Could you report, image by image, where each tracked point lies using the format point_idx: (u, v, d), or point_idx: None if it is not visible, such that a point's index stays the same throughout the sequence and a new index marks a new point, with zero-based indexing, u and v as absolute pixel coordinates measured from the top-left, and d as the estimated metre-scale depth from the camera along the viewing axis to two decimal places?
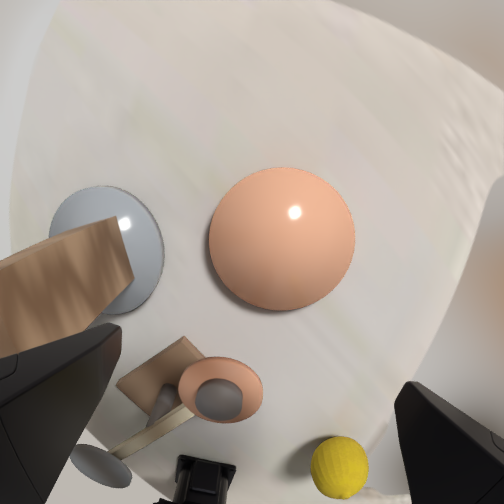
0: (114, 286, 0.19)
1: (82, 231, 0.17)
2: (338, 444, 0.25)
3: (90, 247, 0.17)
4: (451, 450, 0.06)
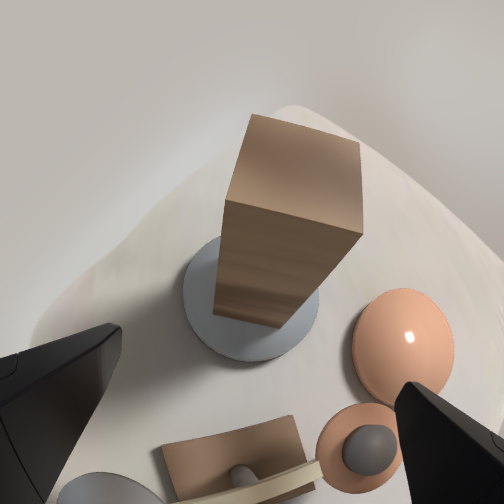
0: None
1: None
2: None
3: None
4: (451, 450, 0.06)
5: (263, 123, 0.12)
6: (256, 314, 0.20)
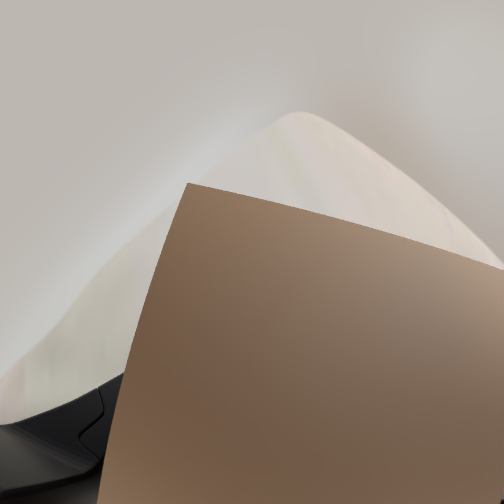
0: None
1: None
2: None
3: None
4: None
5: (229, 228, 0.03)
6: None
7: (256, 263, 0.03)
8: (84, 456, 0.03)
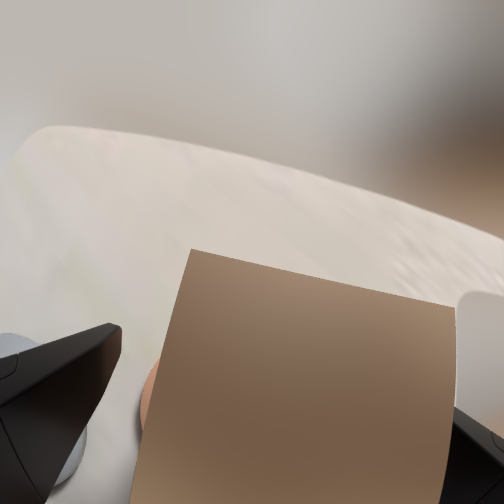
0: None
1: None
2: None
3: None
4: (451, 450, 0.06)
5: (222, 286, 0.05)
6: None
7: (242, 313, 0.04)
8: None
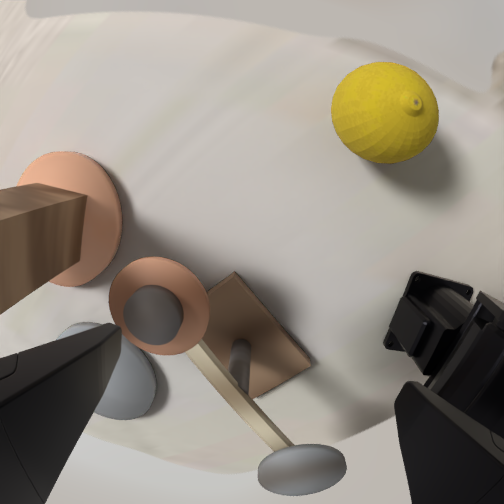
0: (53, 199, 0.16)
1: None
2: (332, 118, 0.16)
3: (6, 193, 0.15)
4: (451, 450, 0.06)
5: None
6: (68, 230, 0.18)
7: None
8: None
